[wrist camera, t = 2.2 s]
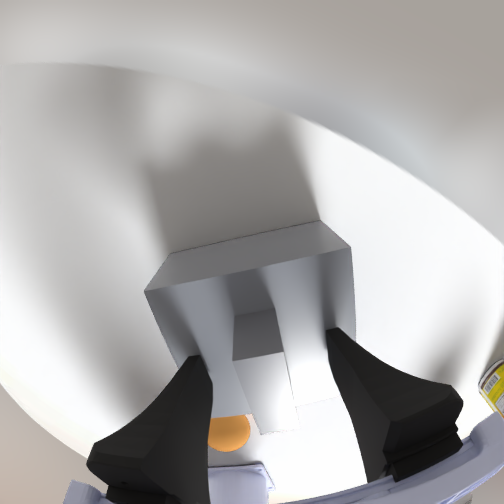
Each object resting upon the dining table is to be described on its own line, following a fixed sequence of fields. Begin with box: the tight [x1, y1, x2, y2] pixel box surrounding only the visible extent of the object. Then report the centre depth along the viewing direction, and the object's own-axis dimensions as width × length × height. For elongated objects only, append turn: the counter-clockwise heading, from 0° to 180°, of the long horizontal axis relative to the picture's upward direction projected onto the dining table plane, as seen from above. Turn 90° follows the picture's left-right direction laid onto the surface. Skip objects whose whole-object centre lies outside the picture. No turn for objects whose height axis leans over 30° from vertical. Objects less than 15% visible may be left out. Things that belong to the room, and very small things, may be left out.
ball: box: [208, 415, 250, 452], centre depth 19 cm, size 4×4×4 cm
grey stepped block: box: [144, 220, 356, 435], centre depth 14 cm, size 9×9×8 cm
